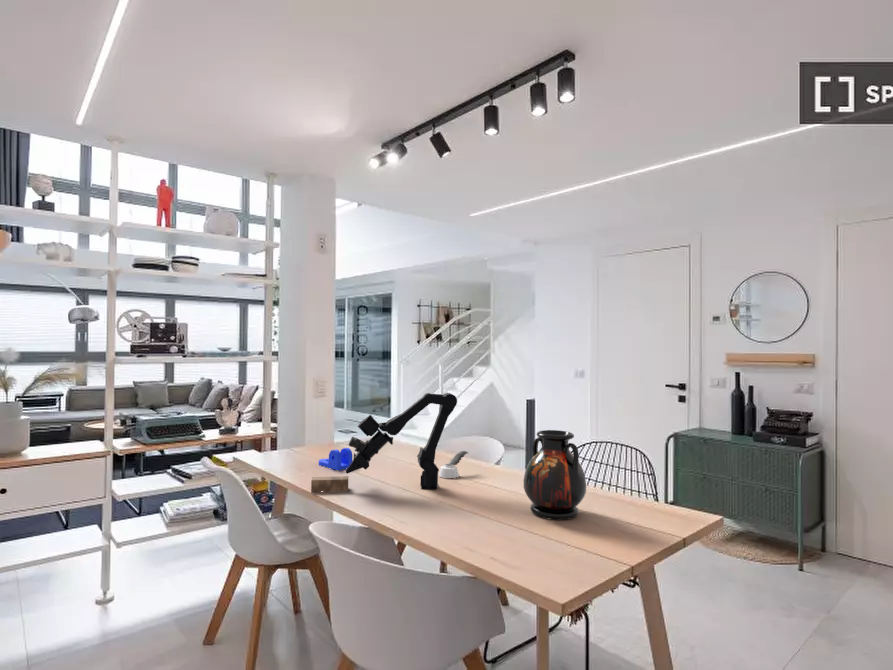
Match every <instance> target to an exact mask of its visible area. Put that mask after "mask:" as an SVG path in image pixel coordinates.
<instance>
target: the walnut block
mask: <svg viewBox="0 0 893 670" xmlns="http://www.w3.org/2000/svg"><path fill="white" fill-rule="evenodd" d="M310 485H311V486H310V493H313V492H314V493H322V492H321V491H348V492H349V476H347V475H346V476H345V475H343V476H341V475H340V476H338V475H337V476H312V478H311V482H310Z"/></svg>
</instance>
